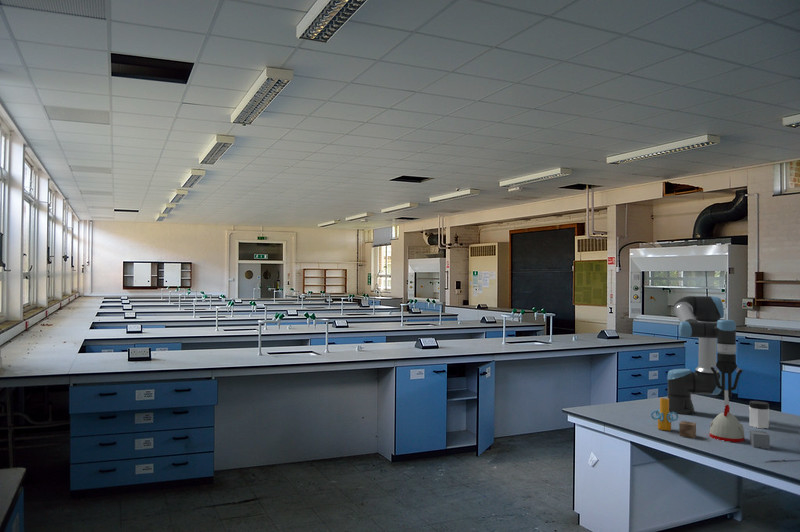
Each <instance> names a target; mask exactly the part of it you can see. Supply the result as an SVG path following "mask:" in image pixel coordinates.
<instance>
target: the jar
mask: <svg viewBox="0 0 800 532" xmlns="http://www.w3.org/2000/svg"><path fill="white" fill-rule="evenodd" d="M748 413H749V418H748V419H749V423H748V424H749V427H752V426H753V427H752V428H756V427H757V428H756V429H764V428H767V429H769V428H770V403H768V402H766V401H759V400H750V401H749V411H748Z"/></svg>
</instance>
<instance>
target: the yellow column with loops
mask: <svg viewBox="0 0 800 532" xmlns="http://www.w3.org/2000/svg"><path fill="white" fill-rule="evenodd" d="M654 413H655V415H656V417H654ZM673 414H674V415H675V418H674V416H673ZM650 416H651V418H652V419H653V420H657V429H658V430H660V431H666V432H669V431H672V422H673V421H677V420H678V419H679V414H678V413H675V412H669V398H667V397H660V398H659V409H658V408H657V409H656V410H652V411H651V413H650Z"/></svg>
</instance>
